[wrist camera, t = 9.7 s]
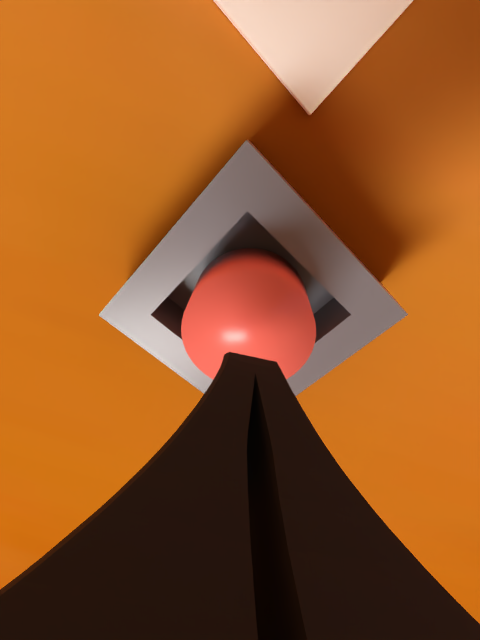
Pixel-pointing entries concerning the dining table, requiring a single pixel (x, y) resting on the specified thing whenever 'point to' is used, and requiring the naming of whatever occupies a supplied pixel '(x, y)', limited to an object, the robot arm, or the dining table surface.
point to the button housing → (262, 233)
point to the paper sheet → (312, 38)
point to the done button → (249, 312)
